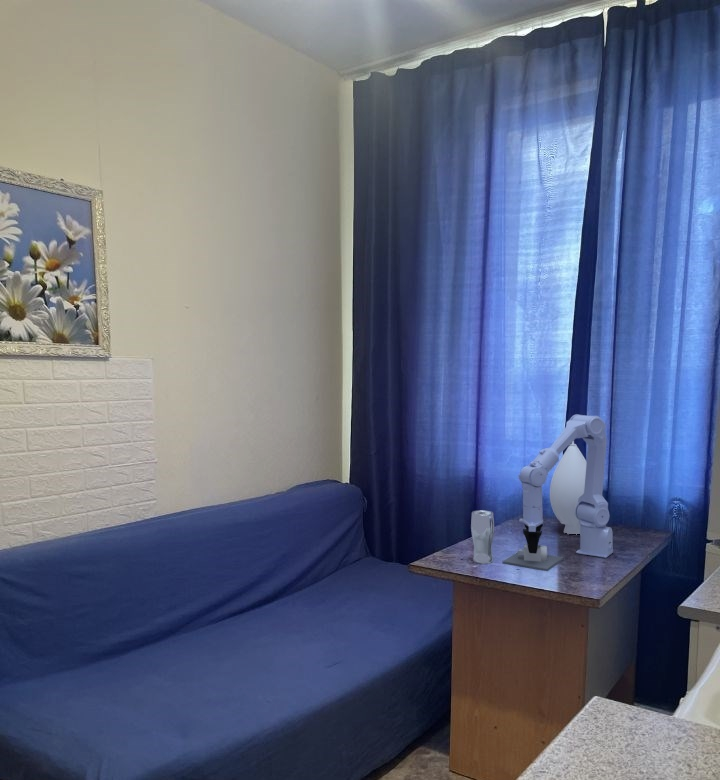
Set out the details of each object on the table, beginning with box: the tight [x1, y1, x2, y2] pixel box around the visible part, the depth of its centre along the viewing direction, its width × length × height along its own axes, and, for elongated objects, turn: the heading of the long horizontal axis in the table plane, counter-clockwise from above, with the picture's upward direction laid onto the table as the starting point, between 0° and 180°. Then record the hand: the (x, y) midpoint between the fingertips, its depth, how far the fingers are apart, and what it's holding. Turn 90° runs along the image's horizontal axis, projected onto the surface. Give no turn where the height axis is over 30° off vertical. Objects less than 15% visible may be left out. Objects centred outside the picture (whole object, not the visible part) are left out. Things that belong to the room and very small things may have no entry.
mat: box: [501, 551, 565, 572], centre depth 197 cm, size 14×14×1 cm
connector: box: [517, 543, 548, 562], centre depth 197 cm, size 8×4×4 cm, turn 73°
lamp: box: [549, 440, 591, 536], centre depth 230 cm, size 16×16×35 cm
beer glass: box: [470, 509, 495, 565], centre depth 198 cm, size 7×7×15 cm
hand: (533, 549), depth 197 cm, fingers open, 7 cm apart
